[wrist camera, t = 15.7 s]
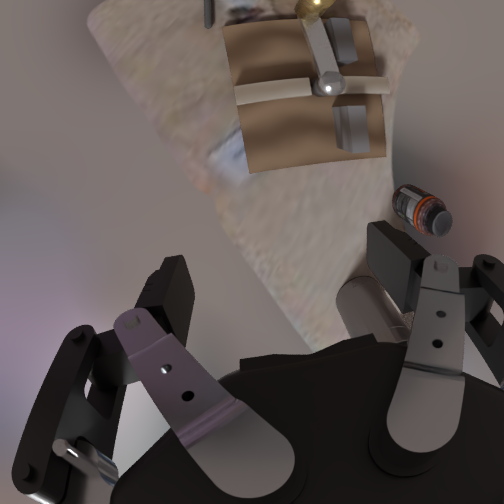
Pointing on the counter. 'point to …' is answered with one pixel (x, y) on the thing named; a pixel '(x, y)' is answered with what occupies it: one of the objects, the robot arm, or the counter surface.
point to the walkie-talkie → (208, 13)
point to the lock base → (301, 114)
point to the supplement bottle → (422, 211)
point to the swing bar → (320, 45)
